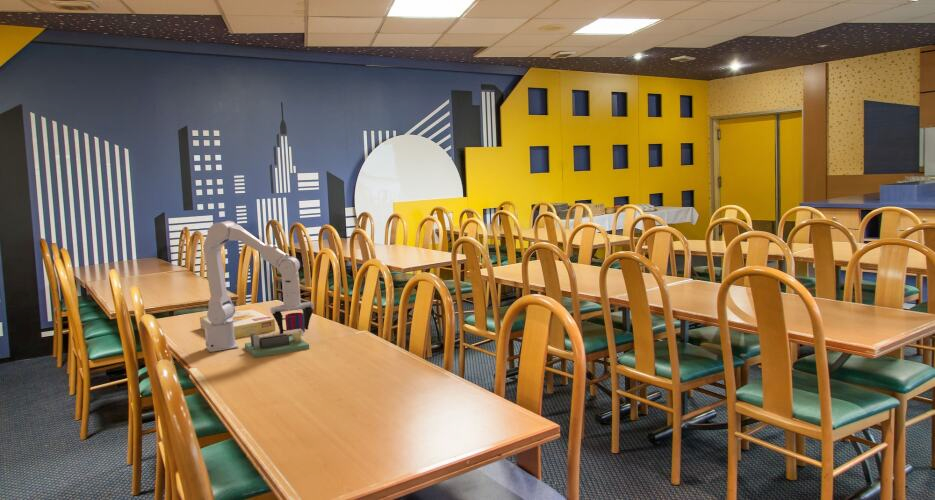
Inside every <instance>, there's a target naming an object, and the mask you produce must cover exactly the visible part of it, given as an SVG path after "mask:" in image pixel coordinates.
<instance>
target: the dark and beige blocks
mask: <svg viewBox="0 0 935 500" xmlns="http://www.w3.org/2000/svg"><path fill="white" fill-rule="evenodd" d="M254 335H256V336H254ZM258 335H259V334H256V333H255V332H253V333H250V336H249V338H250V342H251V346H254V349H255V350H256V349H260V347H261V348H262V349H266V348H272V347H278V346H285V345H290V342H289V336H290V335H282V336H275V337H269V338H262V339H259V336H258ZM291 336H292V340H293V341H295V342H300V341H301V339H302V336H301V333H295V334H291Z"/></svg>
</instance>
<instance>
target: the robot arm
mask: <svg viewBox="0 0 935 500" xmlns="http://www.w3.org/2000/svg"><path fill="white" fill-rule="evenodd" d="M229 241H234V242H236V241H238V242H241V243H243V244H245V245H247V246H248V247H250V248H251V249H253V250H255V251H256V252H258V253H259V254H260V257H261V259H263V260H264V261H265V262H267V263H269V265H272V266H273V267H275V268H276V269H278V272H279V273H280V274H281V285H282V298H283V304H281V305H276V306H270V308H269V309H270V314H272V316H273V319H274V321H275V323H276V324H277V326H278V330H279V332H280V333H283V330H284V324H283V320H282V318H284V315H283V314H282V313H284V312H285V313H286V312H292V311H298V310H299V311H300V310H302V313H303V315H304V328H305V331H306V330H309V325H310V320H311V317H312V315H313V313H314V309H315V304H314V302H313V301H310V302H309V301H307V302H306V301H305V302H301V301H302V300H301V289H300V288H301V287H300V277H299V276H300V275H299V270H300V268H301V262H300V260H299V259H298V258H296V256H292V255H291V256H290V254H289V253H285V252H284V251H283V250H281V249H280V248H279V246H278V245H277V244H272V243H271V244H270V243H269V244H266V243H264V242H263V241H262V240H260V239H258V238H257V237H256V236H254V235H253V234H252V233H251V232H249V231H248V230H246V229H244V227H243V226H241V225H240V224H237V223H236V222H235V221H234V220H233V221H232V220H226V221H220V222H215V223H213V224H211V225H210V227H209V228H207V234H206V237H205V240H204V242H203V245H202V246H203V247H202V248H203V254H204V255H203V256H204V261H205V268H206V275H207V280H208V286H209V293H210V298H209V301H208V303H207V305H208V310H207V313H206V316H207V317H208V319H209V321H210V322H211V324H209V325H205V330H204V334H205V335H204V336H205V347H206V349H207V351H208V352H210V353H213V352H218V351H224V350H231V349H235V348H239V345H238V344H237V343H236V338H235V336H234V324H233V318H232V316H233V315H234V313H235V310H236V307H235V305H234V304H233V302H232V298H231V296H230V295H229V294H228V291H227V284H226V277H225V272H224V271H225V270H224V264H223V259H222V258H223V257H222V252H221V249H222V248H223V247H224V246H225V245H226V243H227V242H229Z"/></svg>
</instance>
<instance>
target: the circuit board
mask: <svg viewBox="0 0 935 500" xmlns="http://www.w3.org/2000/svg"><path fill="white" fill-rule="evenodd" d="M288 336H289V342H290V345H285V346H278V347H272V348H266V349H262V348H261V347H260V349H256V350H255V349H254V346H251V341H250V342H245V343H244V348H245V350H247V351H248V353H249V354H250V355H251V356H252V357H253V358H254V359H258V358H263V357H269V356H275V355H280V354H286V353H292V352H299V351H303V350H309V349H310V343H308V342H306V341H305V340H304V339H302V338H301V341H300V342H295V341H293V340H292V335H288Z"/></svg>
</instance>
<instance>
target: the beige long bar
mask: <svg viewBox="0 0 935 500" xmlns="http://www.w3.org/2000/svg"><path fill="white" fill-rule="evenodd" d="M295 333H301V337H303V336H304V332H303V330H302V329H295V330H288V331H283V333H280V331H276V332H275V331H273V332H267V333H261V334H256V335H258V336H259V339H262V338H269V337H275V336H282V335H288V336H290V335H292V334H295ZM256 335H254V336H256Z"/></svg>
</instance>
